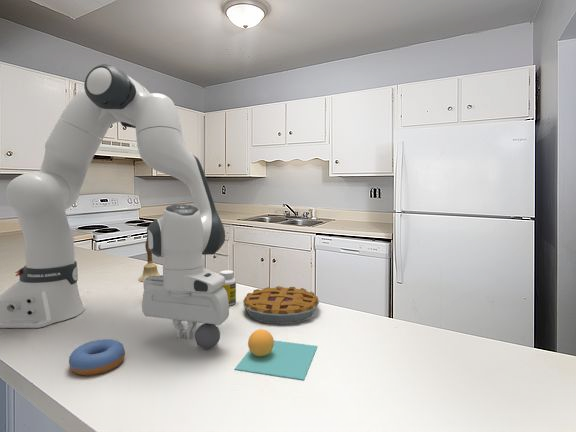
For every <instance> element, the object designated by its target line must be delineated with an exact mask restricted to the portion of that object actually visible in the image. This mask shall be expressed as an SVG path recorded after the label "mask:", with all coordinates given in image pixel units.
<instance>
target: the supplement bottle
mask: <svg viewBox="0 0 576 432" xmlns="http://www.w3.org/2000/svg"><path fill="white" fill-rule="evenodd" d="M219 274H220V275H222V276H224V277H225V284H224V285H223V286H222V287H223V288H224V289H225V290H226V292H227V295H228V303H229V307H230V306H233V305H235V304H236V302H237V280H236V278H234V276H235V273H234V271H233V270H227V269H226V270H221V271H220V272H219Z"/></svg>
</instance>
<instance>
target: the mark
mask: <svg viewBox="0 0 576 432" xmlns="http://www.w3.org/2000/svg"><path fill="white" fill-rule="evenodd" d="M317 348H318V345H315V344H314V345H311V344H305V343H297V342H290V341H281V340H274V346H273V349H272V351H271V352H270V353H269V354H268V355H266V356H263V357H258V356H255V355H254V354H252V353H251V351H250V349H248V351H247V352H246V353H245V354H244V356H243V357H242V359H241V360H240V361H239V363H237V365H236V366H235V368H234V371H240V372H245V373H253V374H260V375H265V376H273V377H280V378H287V379H292V380H299V381H300V380H301V381H304V380H305V378H306V376H307V374H308V371H309V369H310V367H311V366H310V365H311V363H312V362H313V359H314V356H315V353H316V351H317Z"/></svg>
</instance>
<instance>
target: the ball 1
mask: <svg viewBox="0 0 576 432" xmlns="http://www.w3.org/2000/svg"><path fill="white" fill-rule="evenodd" d="M220 339H221V331H220V329H219V327H218V325H216V324H207V323H201V324H200V325H199V326H198V327H197V329H196V331H195V334H194V340H195V343H196V345H197V346H198V347H199V348H201V349H204V350H209V349H213V348H215V347H216V345H218V344H219V341H220Z"/></svg>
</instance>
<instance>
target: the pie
mask: <svg viewBox="0 0 576 432" xmlns="http://www.w3.org/2000/svg"><path fill="white" fill-rule="evenodd" d="M242 304H243V305H242V306H243V307H244V308H245V309H246V311H247V313H248V315H249V317H251V318H252V319H253V320H257V321H259V322H263V323H268V324H269V323H272V324H291V323H292V324H293V323H295V324H296V323H299V322H303V321H307V320H308V319H309V318H311V317H312V315H314V312H315V310H316V309H318V307H319V304H320V300H319V298H318V296H317V295H315V293H314V292H313V291H307V289H305V288H303V287H301V288H296V287H295V286H290V287H284V286H276V287H269V286H267V287H264V288H263V289H259V288H257V289H254V290H253V292H248V293H246V296H244V299H243V301H242Z"/></svg>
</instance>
